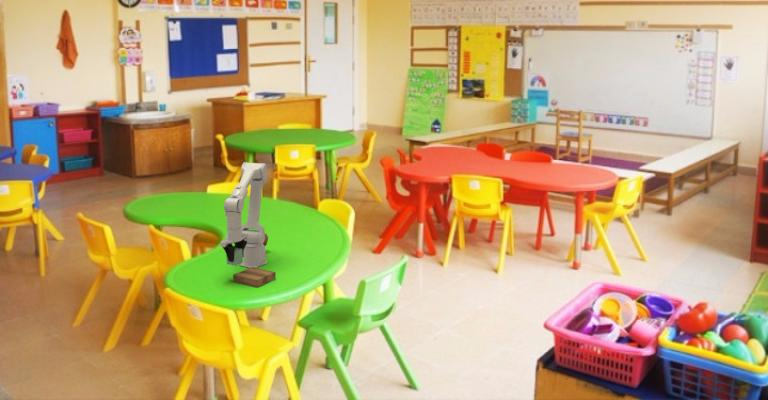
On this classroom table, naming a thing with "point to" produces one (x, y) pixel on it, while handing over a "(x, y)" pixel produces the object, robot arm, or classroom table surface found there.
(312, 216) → the classroom table surface
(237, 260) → the teal block
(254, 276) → the walnut base
